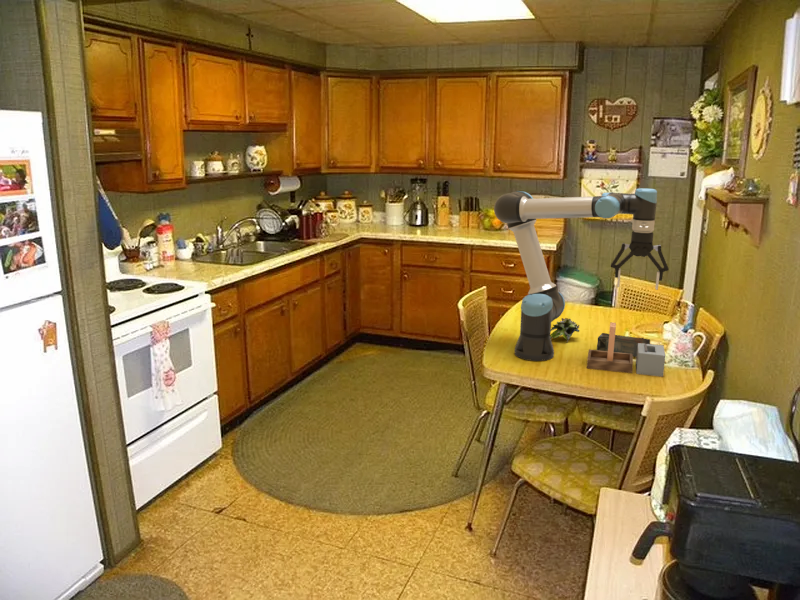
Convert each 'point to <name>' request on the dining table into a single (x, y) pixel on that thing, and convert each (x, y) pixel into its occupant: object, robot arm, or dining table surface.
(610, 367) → the tray
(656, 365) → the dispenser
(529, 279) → the robot arm
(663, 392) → the dining table surface
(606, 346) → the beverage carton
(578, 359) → the dining table surface
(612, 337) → the tan wooden bar
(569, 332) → the green leafy plant
